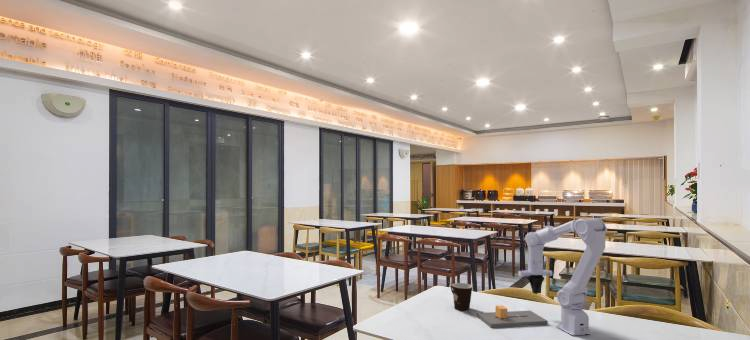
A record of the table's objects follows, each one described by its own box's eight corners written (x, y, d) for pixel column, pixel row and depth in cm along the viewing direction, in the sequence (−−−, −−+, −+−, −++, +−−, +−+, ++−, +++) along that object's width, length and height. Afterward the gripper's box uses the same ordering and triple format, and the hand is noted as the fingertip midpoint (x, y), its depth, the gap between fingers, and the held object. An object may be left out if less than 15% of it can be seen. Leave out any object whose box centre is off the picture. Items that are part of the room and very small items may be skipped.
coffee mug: (474, 312, 166) (474, 288, 166) (453, 311, 166) (454, 288, 166) (468, 303, 177) (468, 281, 178) (449, 303, 178) (449, 281, 178)
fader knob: (507, 318, 154) (507, 308, 154) (500, 318, 154) (500, 308, 154) (502, 314, 158) (502, 305, 158) (495, 315, 157) (495, 305, 158)
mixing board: (547, 324, 153) (547, 320, 153) (491, 327, 148) (491, 323, 149) (530, 314, 165) (530, 310, 165) (477, 316, 160) (477, 312, 160)
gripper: (545, 258, 168) (545, 289, 168) (514, 259, 166) (514, 290, 166) (555, 261, 162) (555, 294, 161) (523, 262, 159) (523, 295, 159)
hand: (535, 293), depth 163 cm, fingers closed
